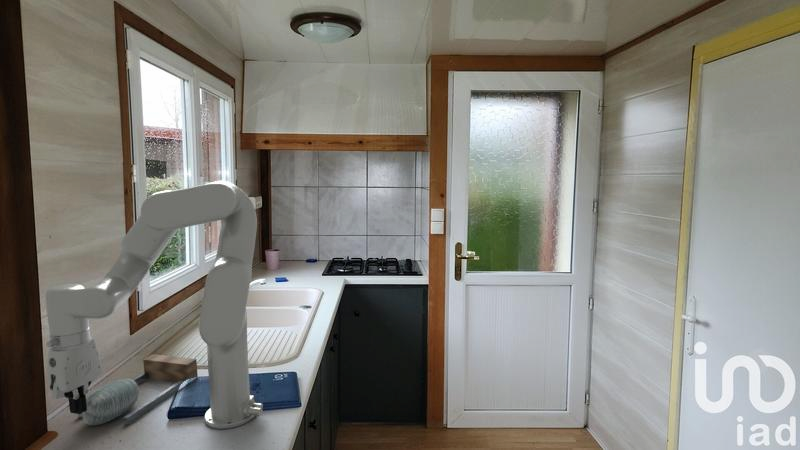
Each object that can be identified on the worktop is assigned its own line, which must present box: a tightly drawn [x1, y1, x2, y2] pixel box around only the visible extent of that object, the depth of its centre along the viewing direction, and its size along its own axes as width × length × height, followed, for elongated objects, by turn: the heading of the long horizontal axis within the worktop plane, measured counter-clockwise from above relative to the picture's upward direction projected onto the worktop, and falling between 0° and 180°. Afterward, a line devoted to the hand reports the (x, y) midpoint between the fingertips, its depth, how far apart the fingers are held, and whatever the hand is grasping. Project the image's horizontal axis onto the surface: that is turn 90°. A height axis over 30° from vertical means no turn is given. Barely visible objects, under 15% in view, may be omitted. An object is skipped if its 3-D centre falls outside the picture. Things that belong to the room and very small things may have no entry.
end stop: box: [142, 353, 199, 383], centre depth 138 cm, size 15×4×6 cm, turn 76°
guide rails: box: [77, 371, 188, 426], centre depth 126 cm, size 15×22×2 cm
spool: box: [81, 378, 139, 426], centre depth 118 cm, size 14×10×10 cm
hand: (78, 411), depth 109 cm, fingers closed
